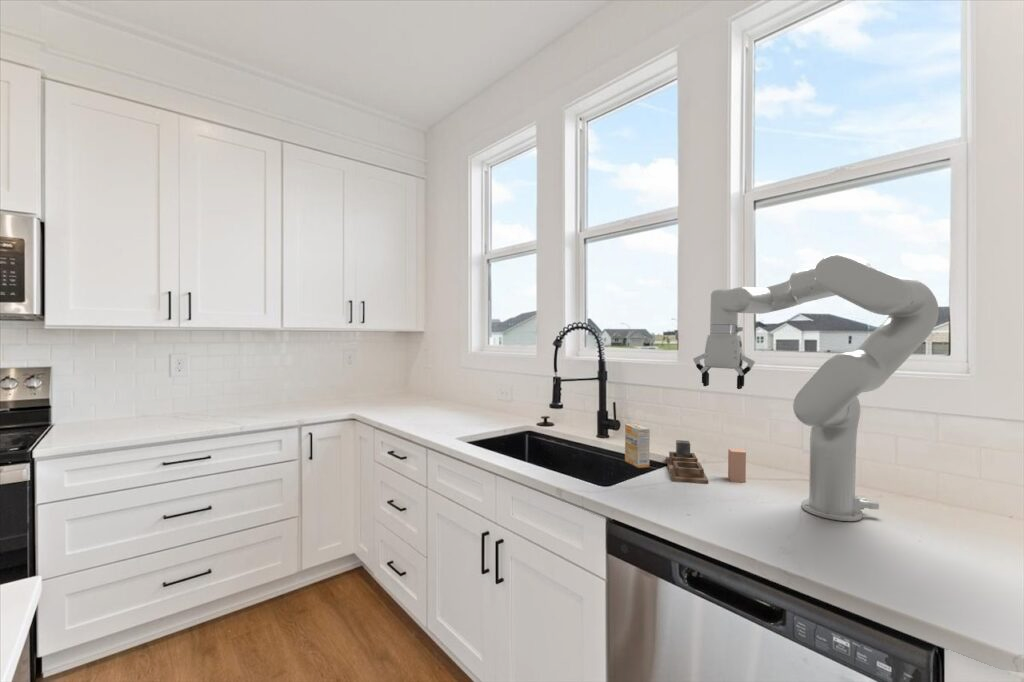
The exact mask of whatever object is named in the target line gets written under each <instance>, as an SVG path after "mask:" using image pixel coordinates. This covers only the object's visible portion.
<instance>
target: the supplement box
mask: <svg viewBox="0 0 1024 682" xmlns="http://www.w3.org/2000/svg"><path fill="white" fill-rule="evenodd" d="M624 433H625V434H624V436H625V437H624V438H625V439H624V461H625V463H627V464H630V465H632V466H634V467H636V468H637V469H640V468H641V469H642V468H649V467H650V444H651V443H650V440H651V439H650V437H651V436H650V435H651V434H650V433H651V429H650V427H649V428H648V427H646V426H644V425H641V424H638V423H626V424H625V428H624Z"/></svg>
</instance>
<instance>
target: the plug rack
mask: <svg viewBox="0 0 1024 682" xmlns="http://www.w3.org/2000/svg"><path fill="white" fill-rule="evenodd" d="M675 440H676V439H675ZM668 454H669V455H668V456H666V457H665V462H666V464H667V468H668V471H669V473H670V477H671V480H672V482H679V483H681V482H682V483H692V484H693V483H694V484H706V485H707V484H709V479H708V477H707V476H706V474H705V471H704V468H703V466H702V464H701V463H700V462H699V461H698V460H699V459H698V457H697V455H696V454H695V453H694V452H691V442H690V440H684V439H683V440H676V441H675V451H669V452H668Z"/></svg>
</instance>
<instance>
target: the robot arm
mask: <svg viewBox="0 0 1024 682" xmlns="http://www.w3.org/2000/svg"><path fill="white" fill-rule="evenodd" d="M834 296H838V298H839V297H840V298H842V299H844V300H846V301H847V302H849V303H852V304H853V305H855V306H857V307H860V308H861V309H863V310H866V311H868V312H870V313H874V314H877V315H881V316H887V318H886V320H885V321H884V322H882V324H880V325H879V326H877V327H876V328H875V329H874V331H872V332H871V333H870V335H869V336H868V337H867V339H865V341H863V342H862V343H861V345H859V346H858V347H857V348H856V349H855V350H853V351H847V352H841V353H837V354H835V355H833V356H832V357H830V358H829V359H827V360H826V361H825V362H824V363H823V364H822V365H821V366H820V367H819V368H818V370H816V372H815V373H814V374H813V375H812V376H811V377H810V378H809V380H808V381H807V382H806V383H805V384H804V385H803V386H802V387H801V388H800V390H799V391H797V392H798V393H796V396H795V397H794V399H793V404H792V407H793V414H794V415H795V417H796V418H797V419H798V420H799V421H800V423H802V424H804V425H806V426H808V427H811V429H810V436H809V475H808V476H809V477H808V478H809V480H808V481H809V482H808V483H809V484H808V486H809V487H808V498H805V499H803V500H802V501H801V507H802V509H803V510H804V511H805V512H808V513H810V514H811V515H814V516H817V517H819V518H824V519H829V520H834V521H841V522H854V521H855V522H856V521H860V520H861V519H863V517H864V512H863V510H864V509H868V510H879V509H880V505H879V502H878V501H877V500H868V499H867V498H865V497H864V498H863V497H858V496H857V495H856V481H857V479H856V478H857V477H856V472H857V470H856V467H857V464H856V463H857V440H858V439H857V438H858V437H857V435H858V427H859V424H860V416H861V404H860V403H861V402H860V400H859V398H858V396H859V395H860V394H863V393H868V392H873V391H875V390H877V389H879V388H881V386H883V385H884V384H885V383H886V382H887V380H889V378H890V377H891V376H892V375H893V374H894V373H895V372H896V371H897V370H898V369H899V368H900V367H901V366H902V365H903V364H905V362H906V361H907V360H908V359H909V357H910V356H912V354H913V353H914V352H915V351H916V350H917V349H918V348H920V346H921V345H922V344H923V343H924V342H925V341H926V340H927V339H928V337H930V335H931V334H932V332H933V331H934V329H935V327H936V325H937V322H938V320H939V311H940V310H939V309H940V308H939V304H938V301H937V299H936V296H935V294H934V293H933V292H932V290H931V289H930V288H929V287H928V286H927V285H926V284H924V283H923V282H921V281H919V280H917V279H915V278H911V277H910V278H909V277H903V276H896V275H892V274H889V273H888V272H885V271H882V270H880V269H877V268H874V267H873V266H872V265H871V264H870V262H869V261H868V260H866V259H864V258H863V257H861V256H857V255H853V254H847V253H839V252H838V253H832V254H830V255H827V256H825V257H823V258H822V259H820V261H818V263H817V264H816V265H813V266H809V267H806V268H802V269H800V270H795V271H794V272H792V273H791V275H790V276H789V279H788V280H785V281H784V282H780V283H777V284H775V285H774V284H773V285H770V286H766V287H756V286H755V287H754V286H738V287H734V288H729V289H728V288H727V289H726V288H723V289H722V288H720V289H714V290H713V291H712V292H711V294H710V317H709V318H710V321H709V324H710V325H709V334H708V335H707V337H706V341H705V348H704V353H702V354H700V355H698V356H696V357H694V358H693V359H692V360H693V362H694V364H695V365H696V366H695V367H696V368H697V370H699V371H700V373H701V383H702V385H703V387H708V386H710V373H709V370H710V369H711V368H713V369H714V368H715V369H727V370H728V369H730V370H732V369H734V370H735V372H737V374H738V375H736V376H737V377H736V389H737V390H741V389H743V387H744V386H745V375H747V374H748V373H749V372H750V371H751V370H752V368H753V367H754V365H755V363H756V361H755V360H754V359H752V358H750V357H747V356H746V355H744V353H743V343H742V342H743V341H742V337H741V335H738V334H739V332H743V330H744V328H743V326H739V324H738V323H739V321H738V320H739V318H738V317H739V314H756V315H758V314H759V315H761V314H767V313H769V314H770V313H773V312H777V311H781V310H785V309H786V310H787V309H789V308H793V307H797V306H799V305H802V304H804V303H808V302H812V301H817V300H821V299H822V300H823V299H824V298H830V297H834ZM701 360H704V362H703V363H704V365H702V363H701ZM744 362H745V363H747V365H746V367H744V368H743V365H744Z"/></svg>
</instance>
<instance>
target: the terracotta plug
mask: <svg viewBox="0 0 1024 682" xmlns="http://www.w3.org/2000/svg"><path fill="white" fill-rule="evenodd" d="M746 454H747V453H746V451H745V450H744V449H743V448H732V447H730V448H729V447H728V453H727V455H728V457H727V459H728V460H727V463H728V465H727V478H728V479H729V481H730V482H733V483H734V482H737V483H747V482H746V475H747V473H746V471H747V470H746V469H747V468H746V467H747V466H746V465H747V455H746Z"/></svg>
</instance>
